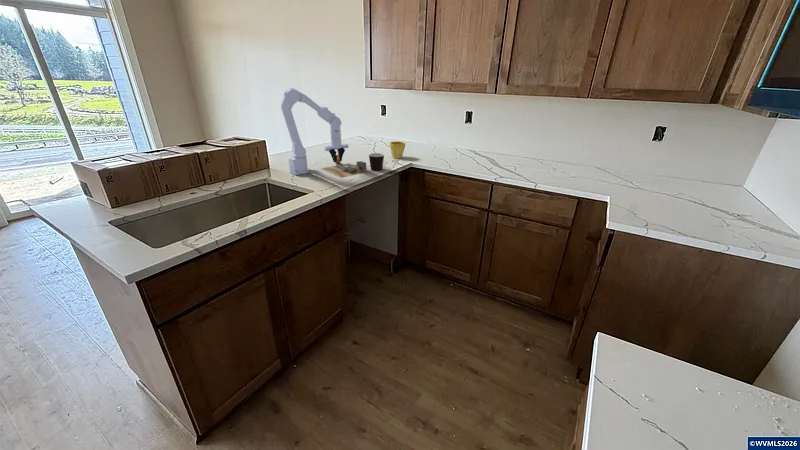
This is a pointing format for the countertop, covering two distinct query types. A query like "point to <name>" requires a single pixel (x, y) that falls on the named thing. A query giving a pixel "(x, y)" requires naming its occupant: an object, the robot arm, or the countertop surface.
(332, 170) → the nutcracker base
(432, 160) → the countertop surface
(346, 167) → the lever
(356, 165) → the walnut
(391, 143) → the plant pot
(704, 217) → the countertop surface
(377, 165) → the coffee mug
